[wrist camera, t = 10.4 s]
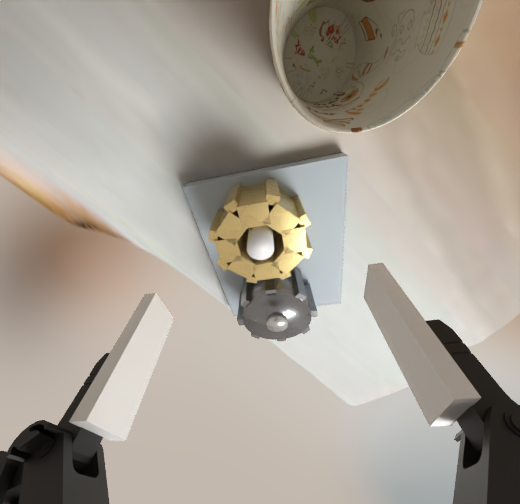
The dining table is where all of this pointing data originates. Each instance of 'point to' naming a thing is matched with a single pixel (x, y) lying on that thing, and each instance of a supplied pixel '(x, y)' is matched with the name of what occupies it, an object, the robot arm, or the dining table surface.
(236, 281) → the gear board
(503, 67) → the dining table surface
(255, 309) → the gear
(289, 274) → the gear
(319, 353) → the dining table surface
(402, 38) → the mug
